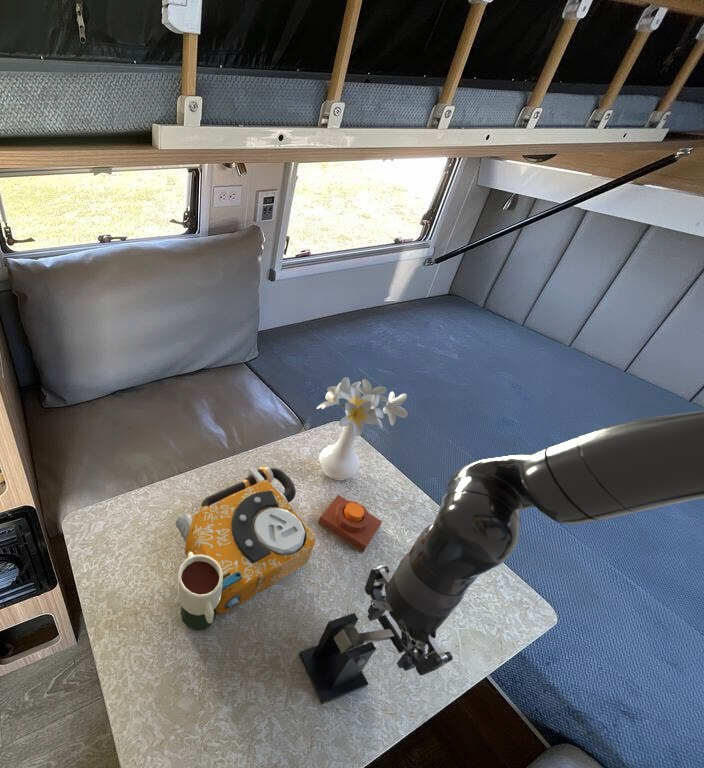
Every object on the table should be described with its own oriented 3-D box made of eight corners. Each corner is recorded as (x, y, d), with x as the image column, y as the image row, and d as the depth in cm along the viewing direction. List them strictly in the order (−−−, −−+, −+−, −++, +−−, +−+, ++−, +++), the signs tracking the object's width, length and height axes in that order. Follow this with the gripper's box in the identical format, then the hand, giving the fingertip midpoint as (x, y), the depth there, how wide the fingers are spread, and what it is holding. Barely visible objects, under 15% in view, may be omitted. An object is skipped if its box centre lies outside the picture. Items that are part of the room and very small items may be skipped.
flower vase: (387, 481, 95) (424, 398, 81) (318, 498, 91) (345, 414, 76) (354, 444, 106) (382, 364, 91) (291, 457, 101) (310, 376, 86)
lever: (379, 620, 65) (389, 612, 64) (401, 654, 61) (411, 646, 60) (327, 627, 59) (336, 618, 58) (347, 665, 56) (357, 656, 55)
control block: (379, 527, 85) (384, 515, 83) (363, 552, 81) (368, 541, 78) (335, 500, 91) (339, 489, 88) (318, 522, 86) (322, 511, 84)
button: (364, 514, 84) (367, 509, 83) (357, 525, 81) (359, 520, 80) (348, 504, 86) (350, 499, 85) (340, 515, 83) (342, 509, 82)
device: (156, 501, 80) (276, 450, 92) (158, 526, 85) (271, 474, 97) (216, 605, 64) (351, 527, 76) (214, 628, 69) (341, 551, 81)
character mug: (228, 639, 67) (235, 601, 60) (188, 654, 66) (189, 617, 58) (206, 578, 76) (209, 538, 68) (170, 590, 74) (169, 550, 66)
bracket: (340, 639, 68) (360, 602, 60) (366, 686, 62) (392, 652, 55) (298, 654, 66) (313, 618, 58) (321, 704, 60) (341, 672, 53)
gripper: (493, 633, 49) (441, 683, 59) (410, 533, 60) (378, 589, 70) (444, 653, 47) (399, 701, 57) (367, 546, 58) (340, 602, 68)
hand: (387, 639), depth 64 cm, fingers open, 6 cm apart
